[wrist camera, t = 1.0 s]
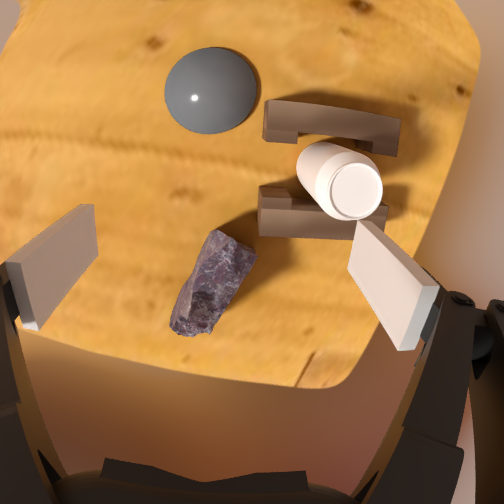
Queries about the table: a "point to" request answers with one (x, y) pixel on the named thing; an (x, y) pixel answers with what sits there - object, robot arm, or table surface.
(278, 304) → the table surface
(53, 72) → the table surface
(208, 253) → the stone
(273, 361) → the table surface
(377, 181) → the beverage can
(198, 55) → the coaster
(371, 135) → the notched wooden bars
